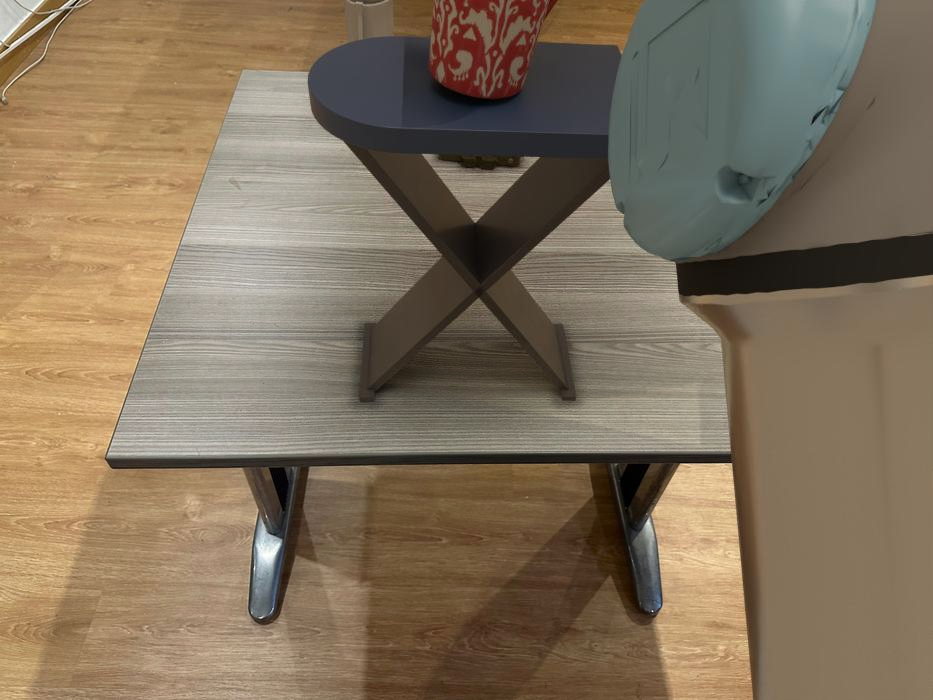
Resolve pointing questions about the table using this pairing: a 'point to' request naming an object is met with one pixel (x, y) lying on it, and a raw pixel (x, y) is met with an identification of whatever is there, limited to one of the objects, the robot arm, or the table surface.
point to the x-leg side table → (438, 211)
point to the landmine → (483, 160)
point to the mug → (485, 44)
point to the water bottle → (368, 19)
